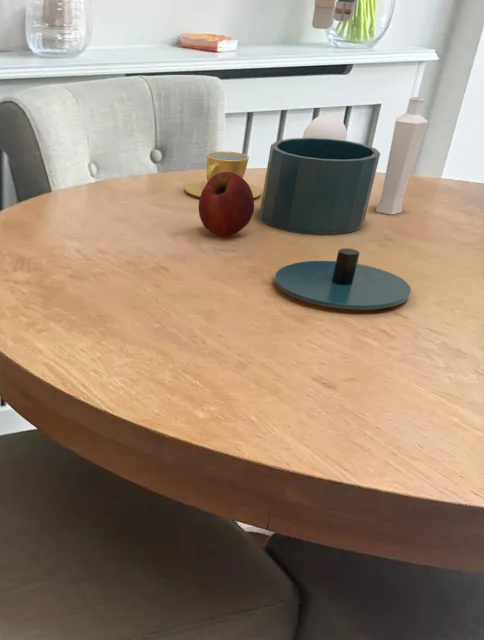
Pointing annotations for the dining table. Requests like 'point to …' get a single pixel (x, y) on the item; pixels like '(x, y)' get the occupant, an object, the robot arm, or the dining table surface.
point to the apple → (226, 204)
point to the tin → (318, 185)
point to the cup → (222, 169)
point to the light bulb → (326, 128)
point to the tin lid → (342, 283)
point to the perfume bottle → (402, 156)
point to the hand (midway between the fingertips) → (332, 24)
